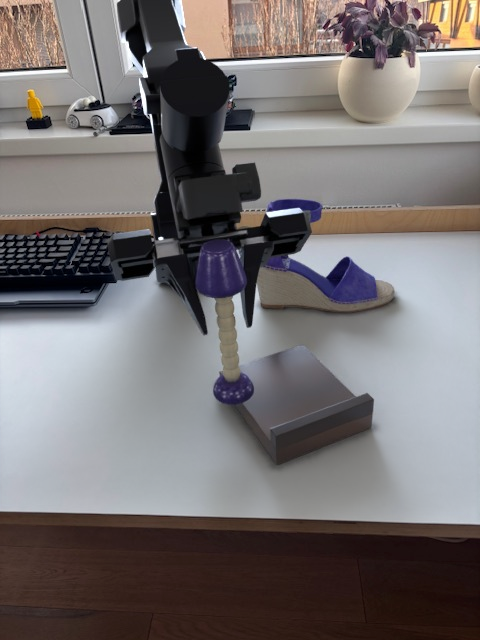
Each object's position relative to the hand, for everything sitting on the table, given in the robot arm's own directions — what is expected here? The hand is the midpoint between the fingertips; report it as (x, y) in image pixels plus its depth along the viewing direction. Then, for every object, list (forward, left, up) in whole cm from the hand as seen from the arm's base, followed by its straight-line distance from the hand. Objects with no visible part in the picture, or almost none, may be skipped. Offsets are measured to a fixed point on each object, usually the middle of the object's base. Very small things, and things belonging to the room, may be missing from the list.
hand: (227, 330), depth 50 cm
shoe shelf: (+2, +7, -12) cm, 14 cm away
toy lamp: (-1, +1, -9) cm, 9 cm away
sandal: (-8, +28, -12) cm, 31 cm away
